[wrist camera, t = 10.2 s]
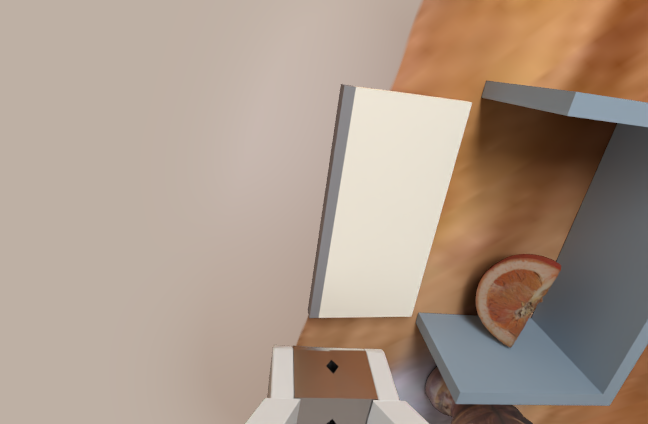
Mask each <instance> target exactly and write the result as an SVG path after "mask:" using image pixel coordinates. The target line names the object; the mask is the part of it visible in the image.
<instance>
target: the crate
mask: <svg viewBox="0 0 648 424" xmlns="http://www.w3.org/2000/svg"><path fill="white" fill-rule="evenodd" d="M482 98H486V99H491V100H495V101H500V102H505V103H509V104H514V105H519V106H523V107H528V108H533V109H537V110H542V111H547V112H552V113H556V114H561V115H566V116H572V117H579V118H586V119H593V120H600V121H607V122H615V123H617V125H616V128H615V130H614V132H613V134H612V137H611V139H610V141H609V144H608V146H607V148H606V150H605V153H604V155H603V157H602V159H601V162H600V164H599V166H598V168H597V171H596V173H595V175H594V177H593V180H592V182H591V184H590V186H589V189H588V191H587V193H586V196H585V198H584V200H583V202H582V205H581V207H580V209H579V211H578V214H577V216H576V218H575V220H574V223H573V225H572V227H571V229H570V232H569V234H568V236H567V239H566V241H565V243H564V245H563V248H562V250H561V252H560V254H559V257H558V259H557V261H556V262H557V263H559V264H560V265H561V271H560V272H559V274H558V277H557V278H556V279H555V281H554V282H553V284H552V286H551V287H550V289H549V291H548V292H547V294H546V295H545V296H543V298H542V299H543V301H542V302H539V304H538V305H537V306H536V309H535V311H534V313H533V315H532V318H529V319H528V321H527V322H526V325H525V327H524V328H523V330H522V331H521V333H520V334H519V336H518V338H517V340H516V341H515V343H514V345H513V346H512V347H511V348H510V347H508V346H507V345H505V344H503V343H502V342H501V341H499V340H498V339H497V338H496V337H495V336H493V335H492V334H491V333H490V331H489V330H488V329H487V328H486V327H485V326H484V324H483V323H482V321H481V319H480V317H479V316H475V315H454V314H434V313H418V317H417V320H416V324H417V326H418V328H419V330H420V332H421V334H422V336H423V338H424V341H425V343H426V345H427V347H428V349H429V351H430V353H431V355H432V357H433V359H434V361H435V363H436V365H437V367H438V369H439V371H440V373H441V375H442V377H443V379H444V381H445V383H446V385H447V387H448V389H449V391H450V393H451V396H452V398H453V400H454V402H455V404H500V405H600V406H610V404H611V403H612V401H613V399H614V398H615V396H616V394H617V393H618V391H619V390H620V388H621V386H622V385H623V383H624V381H625V380H626V378H627V377H628V375H629V373H630V372H631V370H632V368H633V367H634V365H635V364H636V362H637V360H638V359H639V357H640V355H641V354H642V352H643V351H644V349H645V347H646V346H647V344H648V103H646V102H639V101H632V100H626V99H619V98H613V97H606V96H600V95H593V94H586V93H580V92H573V91H565V90H557V89H549V88H541V87H533V86H525V85H517V84H509V83H501V82H492V81H486V84H485V87H484V91H483V94H482Z"/></svg>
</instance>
